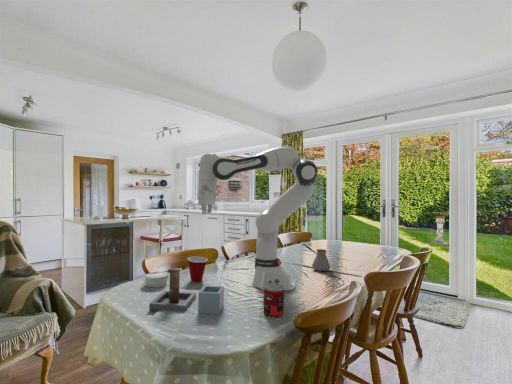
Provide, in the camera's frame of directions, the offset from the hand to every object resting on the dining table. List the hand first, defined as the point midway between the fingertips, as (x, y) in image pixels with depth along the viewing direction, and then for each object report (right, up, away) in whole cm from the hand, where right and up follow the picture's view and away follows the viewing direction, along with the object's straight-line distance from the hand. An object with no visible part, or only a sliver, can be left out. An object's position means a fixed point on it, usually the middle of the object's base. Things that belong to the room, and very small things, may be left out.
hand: (206, 213), depth 141 cm
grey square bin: (+7, -37, -28) cm, 47 cm away
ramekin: (-26, -37, +2) cm, 45 cm away
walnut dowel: (-10, -36, -22) cm, 43 cm away
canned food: (+32, -38, -28) cm, 57 cm away
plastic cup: (-7, -37, +11) cm, 39 cm away
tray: (-10, -37, -22) cm, 44 cm away
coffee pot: (+63, -39, +42) cm, 85 cm away
